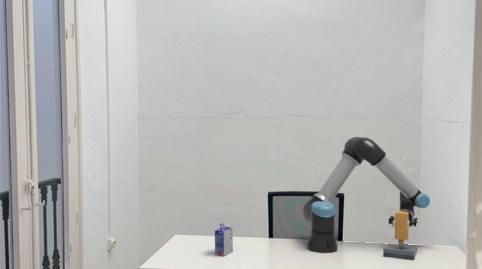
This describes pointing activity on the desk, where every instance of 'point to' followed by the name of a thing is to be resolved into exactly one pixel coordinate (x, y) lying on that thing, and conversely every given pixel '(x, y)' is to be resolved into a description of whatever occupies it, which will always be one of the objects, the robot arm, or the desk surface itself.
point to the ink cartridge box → (223, 240)
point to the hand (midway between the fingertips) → (400, 225)
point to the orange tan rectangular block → (401, 225)
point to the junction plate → (400, 251)
